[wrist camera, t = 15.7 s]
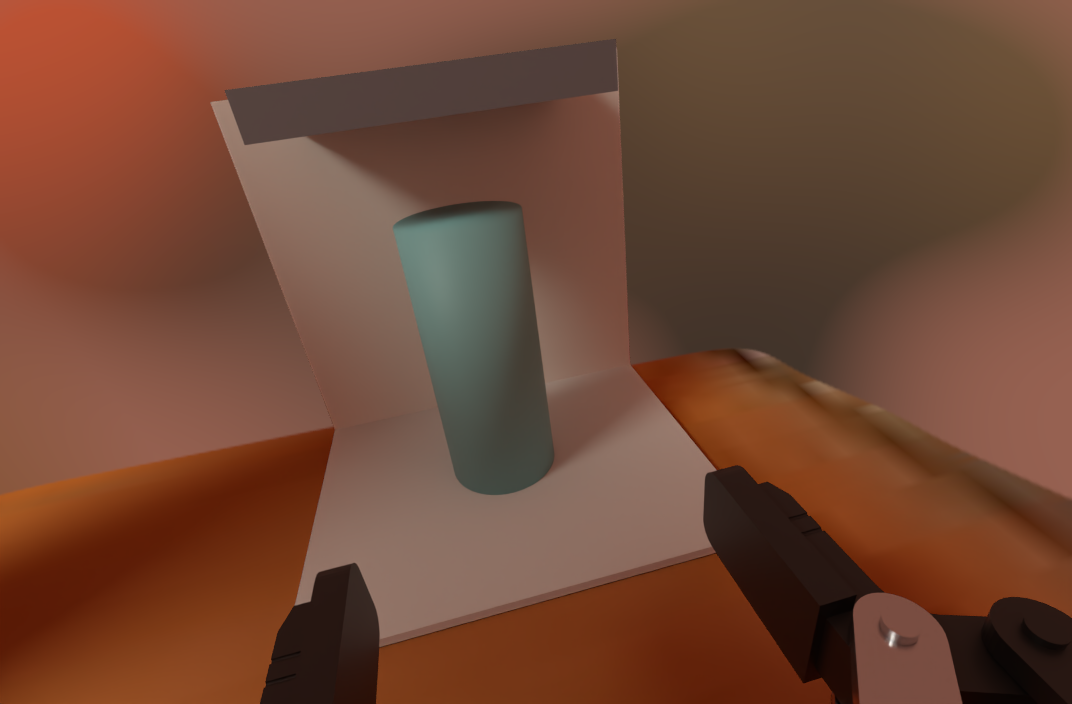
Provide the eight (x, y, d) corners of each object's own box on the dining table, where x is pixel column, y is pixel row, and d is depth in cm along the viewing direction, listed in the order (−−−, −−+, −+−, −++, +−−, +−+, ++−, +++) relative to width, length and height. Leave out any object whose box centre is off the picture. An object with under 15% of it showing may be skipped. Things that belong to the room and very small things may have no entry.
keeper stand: (284, 673, 17) (-57, 109, 9) (341, 416, 31) (225, 101, 23) (765, 538, 20) (833, -5, 12) (619, 355, 34) (602, 51, 26)
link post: (458, 506, 23) (390, 243, 17) (450, 440, 27) (394, 214, 22) (566, 479, 23) (534, 218, 18) (541, 419, 28) (509, 195, 22)
